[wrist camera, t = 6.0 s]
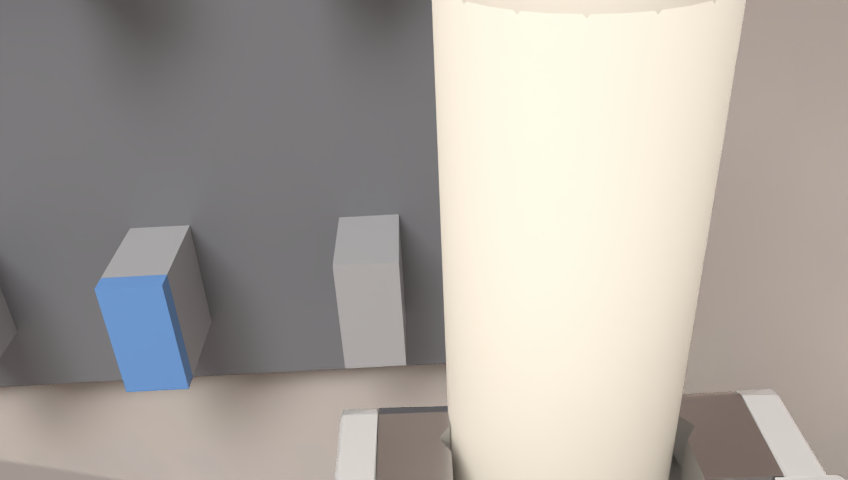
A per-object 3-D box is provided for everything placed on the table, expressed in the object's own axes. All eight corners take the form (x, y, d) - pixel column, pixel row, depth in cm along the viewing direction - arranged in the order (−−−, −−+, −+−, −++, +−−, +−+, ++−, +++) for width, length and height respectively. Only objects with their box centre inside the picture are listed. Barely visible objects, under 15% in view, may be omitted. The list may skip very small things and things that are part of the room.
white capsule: (419, -201, 8) (431, -187, 6) (707, -217, 8) (851, -209, 6) (456, 680, 16) (468, 850, 14) (600, 672, 16) (639, 839, 14)
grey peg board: (706, -377, 19) (817, -430, 14) (628, 337, 31) (674, 452, 26) (-354, -322, 19) (-627, -355, 14) (-43, 371, 31) (-132, 494, 26)
